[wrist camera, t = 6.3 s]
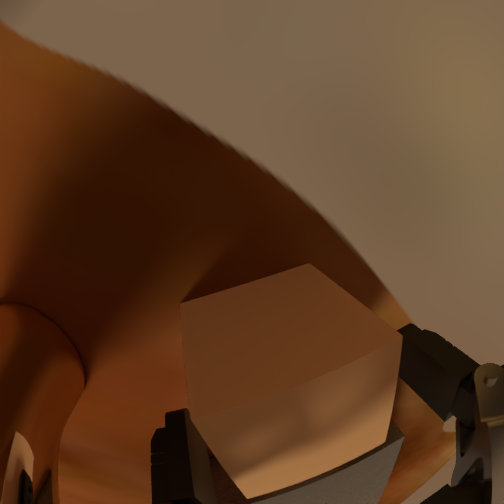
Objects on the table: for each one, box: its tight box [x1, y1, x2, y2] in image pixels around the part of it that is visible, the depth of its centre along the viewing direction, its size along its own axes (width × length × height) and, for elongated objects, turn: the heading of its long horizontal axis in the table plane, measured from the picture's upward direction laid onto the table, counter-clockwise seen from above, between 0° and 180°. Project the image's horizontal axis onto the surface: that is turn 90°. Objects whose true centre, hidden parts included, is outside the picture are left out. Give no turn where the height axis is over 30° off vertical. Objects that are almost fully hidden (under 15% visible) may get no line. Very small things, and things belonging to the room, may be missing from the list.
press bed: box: [209, 419, 405, 504], centre depth 15 cm, size 14×14×4 cm
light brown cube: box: [180, 263, 403, 499], centre depth 10 cm, size 6×6×6 cm
